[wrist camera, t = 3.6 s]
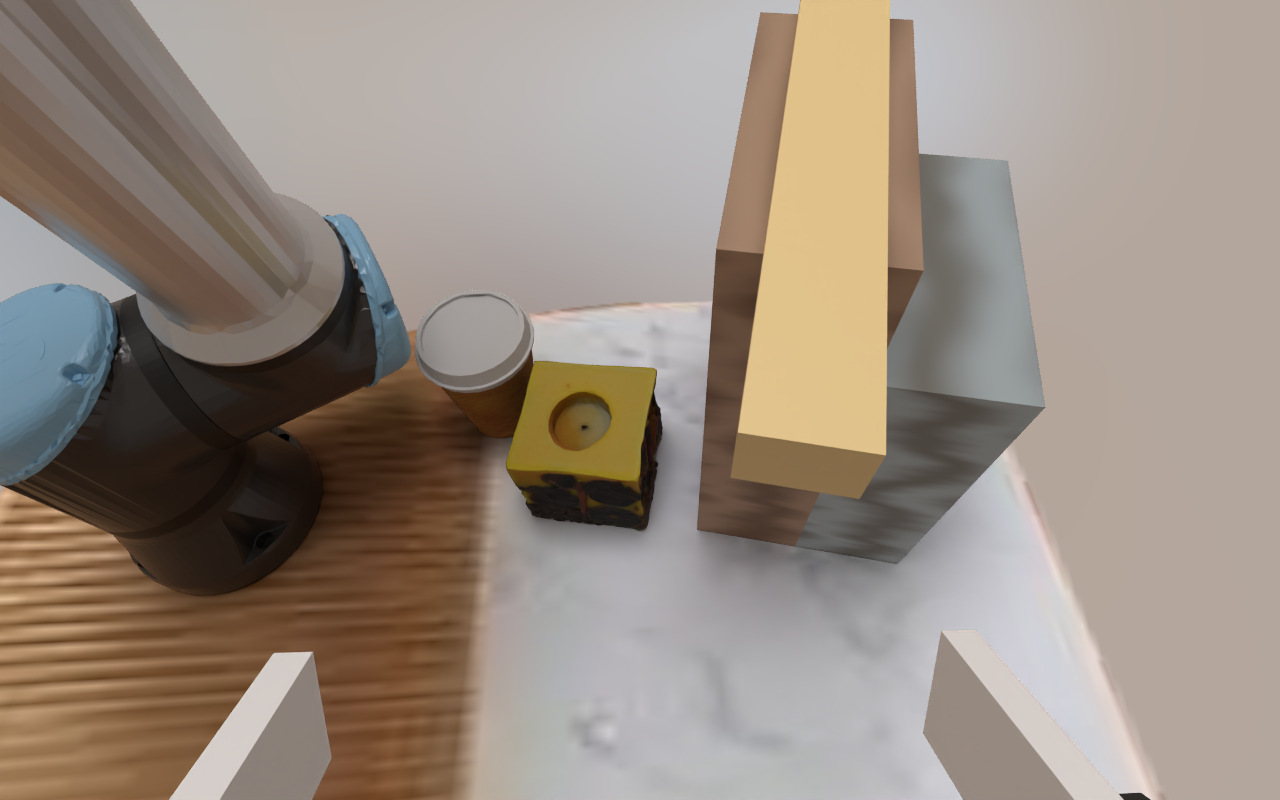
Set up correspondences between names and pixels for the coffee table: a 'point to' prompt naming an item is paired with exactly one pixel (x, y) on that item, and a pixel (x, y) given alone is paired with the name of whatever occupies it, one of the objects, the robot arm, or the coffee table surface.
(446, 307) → the disposable coffee cup
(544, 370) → the candle
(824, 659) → the coffee table surface
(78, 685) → the coffee table surface
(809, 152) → the ochre batten
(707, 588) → the coffee table surface
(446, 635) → the coffee table surface
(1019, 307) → the stepped stand
